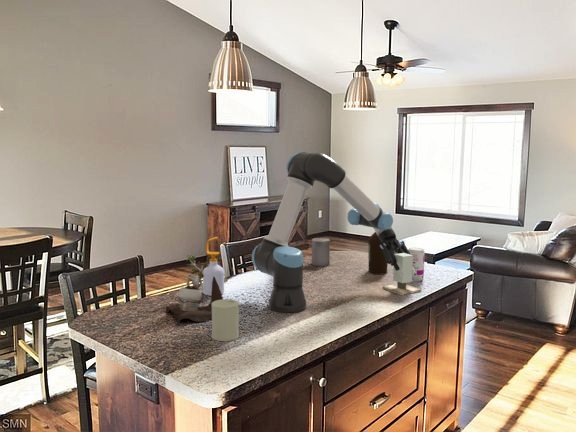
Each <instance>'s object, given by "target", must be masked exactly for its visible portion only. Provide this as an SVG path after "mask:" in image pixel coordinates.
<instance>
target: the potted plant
mask: <svg viewBox="0 0 576 432" xmlns="http://www.w3.org/2000/svg"><path fill="white" fill-rule="evenodd" d="M186 256H187V258H186V261H188V260H189V263H187V264H186V265H185V266H187V267H188V268H189V269H190V271H191V273H188V274H187V277H186V278H187V279H186V286H185V287H183V286H182V287H180V288H179V291H178V296H177V298H176V299H177V300H179V302H180V304H178V303H176V304H170V305H167V306H166V307H165V311H166V313H169V312H171V313H172V314H173V317H174V319H175V320H176V324H179V323H180V322H181V320H184V319H188V320H191V321H194V322H199V323H200V322H206V323H207V322H209V321H210V320H212V302H214V301H216V300H222V299H224V298H223V296H222V295H223V294H221V291H220V289H219V286H218V284H217V281H216V279H215V277H213V281H212V293H211V296H210V302H209V303H208V305H204V306H203V305H202V306H201V305H200V306H199V304H200V303H201V302H202V293H203V292H202V289H200V288H201V286H202V285H203V277H204V275H203V270H204V269H203V268H206V267H209V266H208V265H209V264H208V263H207V262H203V263H201V261H199V260H198V261H197V263H196V259H197V257H196V256H195V255H191V254H187V255H186ZM200 264H202V265H201V267H198V266H199V265H200ZM191 267H192V268H191ZM194 274H196V275H194ZM190 281H191V284H192V286H190Z"/></svg>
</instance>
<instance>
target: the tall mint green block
mask: <svg viewBox="0 0 576 432" xmlns="http://www.w3.org/2000/svg"><path fill="white" fill-rule="evenodd" d="M394 255H395V257H396V261H397V262H399V264H400V266H401V267H402V269H403V271H404V273H405V275H404V276H403V277H402V278H401V277H400V275H399V273H398V272H397V271H396V270H395V268H394V267H393V276H392V277H393V278H392V281H395V282H397V283H398V282H400V283H406V282H407V283H412V282H413V281H412V266H413V255H410V254H406V253H399V254H398V253H395V254H394ZM397 262H396V263H397Z"/></svg>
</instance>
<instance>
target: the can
mask: <svg viewBox="0 0 576 432" xmlns="http://www.w3.org/2000/svg"><path fill="white" fill-rule="evenodd" d="M239 303H240V302H239V301H237V300H235V299H231V298H230V299H229V298H227V299H226V298H223V299H222V300H216V301H214V302H212V319H211V338H212V339H213V340H215V341H218V342H231V341H235V340H237V339H238V338H239V336H240V334H239V331H240V330H239V329H240V328H239V310H240V309H239V307H240V304H239Z"/></svg>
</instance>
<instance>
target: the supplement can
mask: <svg viewBox="0 0 576 432" xmlns="http://www.w3.org/2000/svg"><path fill="white" fill-rule="evenodd" d="M408 251H409V252H410V254H411V255H413V268H414V269H415V271H416V273H415V274H414V275H413V276H412V282H421V280H422V281H423V280H424V276H425V275H424V274H425V258H426V257H425V256H426V252H425V251H424V248H421V247H409V248H408Z"/></svg>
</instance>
